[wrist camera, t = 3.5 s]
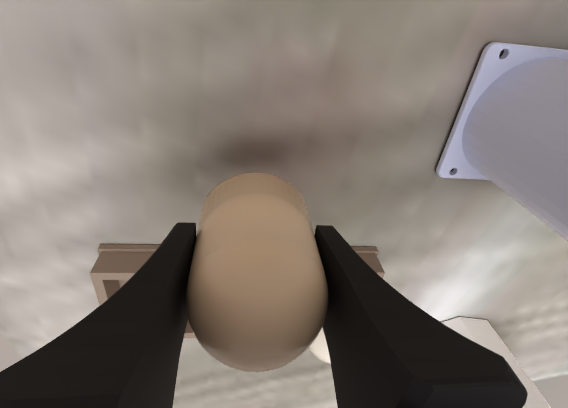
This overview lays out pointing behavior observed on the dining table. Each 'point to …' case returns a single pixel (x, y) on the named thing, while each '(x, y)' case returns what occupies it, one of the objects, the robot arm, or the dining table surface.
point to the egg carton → (131, 257)
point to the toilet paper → (489, 339)
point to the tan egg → (256, 275)
